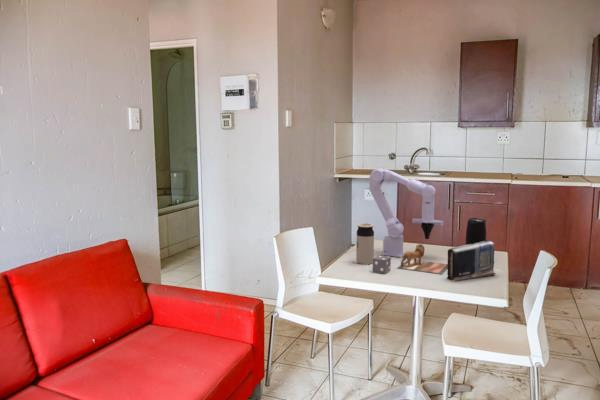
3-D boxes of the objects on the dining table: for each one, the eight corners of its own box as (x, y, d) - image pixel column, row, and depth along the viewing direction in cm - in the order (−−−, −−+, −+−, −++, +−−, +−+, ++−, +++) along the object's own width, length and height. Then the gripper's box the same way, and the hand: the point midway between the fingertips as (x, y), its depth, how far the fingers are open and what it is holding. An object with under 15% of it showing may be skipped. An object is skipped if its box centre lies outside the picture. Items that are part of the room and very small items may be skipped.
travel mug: (374, 260, 238) (374, 223, 236) (372, 265, 231) (373, 226, 228) (357, 259, 240) (357, 222, 237) (355, 264, 232) (355, 226, 230)
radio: (449, 282, 206) (451, 246, 203) (438, 276, 214) (440, 241, 212) (498, 277, 211) (500, 242, 209) (486, 271, 220) (488, 238, 218)
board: (396, 268, 225) (397, 267, 225) (408, 259, 240) (408, 259, 240) (441, 274, 215) (441, 274, 215) (451, 265, 230) (451, 264, 230)
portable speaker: (488, 259, 239) (490, 219, 236) (477, 262, 233) (479, 221, 230) (472, 255, 246) (474, 216, 243) (461, 259, 240) (463, 218, 237)
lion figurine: (417, 261, 236) (418, 242, 235) (427, 263, 232) (427, 244, 231) (397, 266, 227) (397, 247, 226) (406, 269, 223) (407, 249, 222)
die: (372, 272, 220) (372, 258, 219) (377, 268, 225) (377, 255, 224) (385, 273, 217) (386, 260, 216) (390, 270, 222) (390, 257, 221)
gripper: (410, 210, 240) (409, 238, 242) (441, 213, 233) (440, 241, 235) (415, 208, 246) (414, 235, 248) (444, 211, 239) (443, 239, 241)
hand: (427, 238), depth 242 cm, fingers closed
